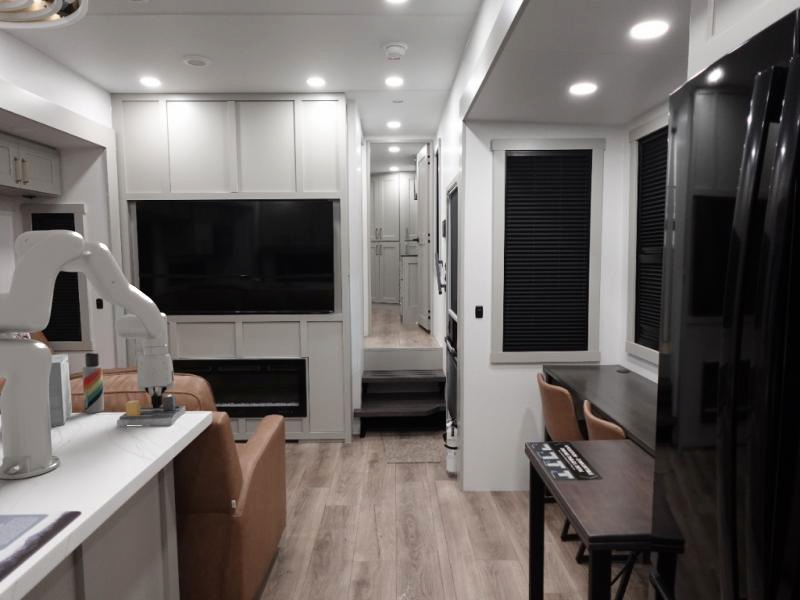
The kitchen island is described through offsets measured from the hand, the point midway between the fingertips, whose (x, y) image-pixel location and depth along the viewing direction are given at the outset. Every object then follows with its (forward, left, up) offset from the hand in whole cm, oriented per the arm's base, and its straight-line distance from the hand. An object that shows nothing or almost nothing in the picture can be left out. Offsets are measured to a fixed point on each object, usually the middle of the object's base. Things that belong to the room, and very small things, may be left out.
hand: (157, 406), depth 168 cm
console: (-3, 0, -3) cm, 4 cm away
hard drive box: (0, +31, -3) cm, 32 cm away
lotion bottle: (+9, +23, -3) cm, 25 cm away
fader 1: (-6, +5, -1) cm, 8 cm away
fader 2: (0, -4, -1) cm, 4 cm away
